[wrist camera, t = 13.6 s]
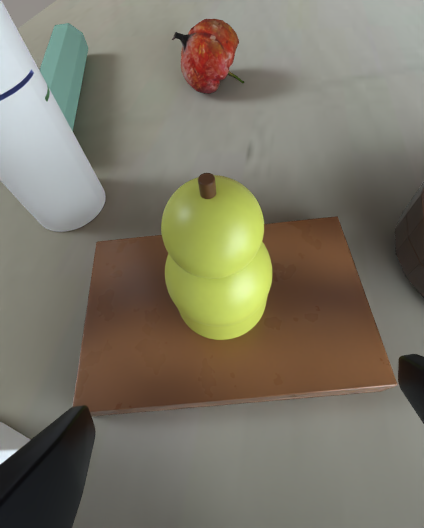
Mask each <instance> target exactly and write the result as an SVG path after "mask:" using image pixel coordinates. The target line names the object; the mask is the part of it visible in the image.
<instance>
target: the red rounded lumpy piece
mask: <svg viewBox="0 0 424 528" xmlns="http://www.w3.org/2000/svg"><path fill="white" fill-rule="evenodd" d="M175 38H177V39H180V40H181V42H182V45H183V47H182V51H181V56H182V58H181V70H182V73H183V75H184V77H185V79H186V81H187V82H188V83H189V84H190V85H191V86H192V87H193V88H194V89H195V90H196V91H198V92H202V93H208V94H209V93H212V92H215V91H216V90H217V89H218V87H219V84H220V80H223V79H224V78H225V77H226V76H227V74H228V75H230V76H232V77H234V78H236V79H237V80H239V81H240V82H242V83H244V81H242V80H240V79H239V78H238V77H237V76H236V75H234V74H233V73H231V72H230V71H229V67H230V66H231V65H232V63H233V60H234V56H235V55H234V54H235V51H236V48H237V46H238V43H239V40H238V37H237V34H236V32H235V31H234V30H233V29H232V27H231V26H230V25H228V24H227V23H225V22H224V21H223V20H218V19H204V20H202V21H201V22H199V23H198V24H197V25H195V26H194V27H193V28H191V30H190V31H189V33H188V35H183V34H180V33H177V32H175V35H174V37H173V39H172V40H174V39H175Z"/></svg>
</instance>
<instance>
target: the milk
mask: <svg viewBox="0 0 424 528" xmlns="http://www.w3.org/2000/svg"><path fill="white" fill-rule="evenodd" d="M30 440H31V439H29V438H27V437H26V436H24V435H22V434H21V433H19V432H17V431H16V430H14V429H12V428H11V427H9V426H7V425H6V424H4V423H2V422H1V421H0V464H1V463H3V462H4V461H5V460H6V459H8V458H9V457H10V456H11V455H13V454H14V453H15V452H16V451H18V450H19V449H20V448H21V447H23V446H24V445H25V444H26V443H28V442H29V441H30Z"/></svg>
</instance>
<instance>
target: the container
mask: <svg viewBox="0 0 424 528" xmlns="http://www.w3.org/2000/svg"><path fill="white" fill-rule="evenodd" d="M87 53H88V46H87V43H86V41H85V38H84V35H83V33H82V32H81V31H79V30H78V29H76V28H75V27H74V26H72V25H71V24H69V23H66V24H60V25H55V26H54V29H53V32H52V35H51V38H50V41H49V44H48V47H47V50H46V53H45V55H44V58H43V61H42V64H41V67H40V72H41V74H42V76H43V78H44V80H45V82H46V83H47V86H48V87H49V89H50V91H51V93H52V94H53V96H54V98H55V100H56V102H57V104H58V106H59V107H60V109H61V111H62V113H63V115H64V117H65V118H66V120H67V122H68V124H69V126H70V128H71V130H72V131H73V127H74V121H75V116H76V111H77V105H78V100H79V95H80V90H81V84H82V79H83V74H84V68H85V63H86V58H87Z"/></svg>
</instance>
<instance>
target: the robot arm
mask: <svg viewBox="0 0 424 528" xmlns="http://www.w3.org/2000/svg"><path fill="white" fill-rule="evenodd" d="M398 381H399V385H400V388H401V390H402V392H403V393H404V395H405V396H406V398H407V399H408V401H409V402H410V404H411V405H412V407H413V408H414V410H415V411H416V413H417V414H418V416H419V417H420V419H421V420H422V422H423V423H424V357H423V356H420V355H417V354H410V355H404V356H401V357H400V358H399V371H398ZM94 440H95V426H94V423H93V420H92V417H91V413H90V410H89V408H88V406H86V405H81V406H75V407H72V408H70V409H69V410H68V411H66V412H65V413H64V414H63V415H61V416H60V417H59V418H58V419H56V420H55V421H54V422H53V423H51V424H50V425H49V426H48V427H46V428H45V429H44V430H43V431H41V432H40V433H39V434H38V435H36V436H35V437H34V438H33V439H31V440H30V441H29V442H28V443H26V444H25V445H24V446H23V447H21V448H20V449H19V450H18V451H16V452H15V453H14V454H13V455H11V456H10V457H9V458H8V459H6V460H5V461H4V462H3V463H1V464H0V528H72V526H73V523H74V519H75V516H76V513H77V510H78V507H79V504H80V500H81V497H82V493H83V489H84V485H85V481H86V476H87V472H88V467H89V463H90V458H91V453H92V449H93V444H94Z"/></svg>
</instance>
